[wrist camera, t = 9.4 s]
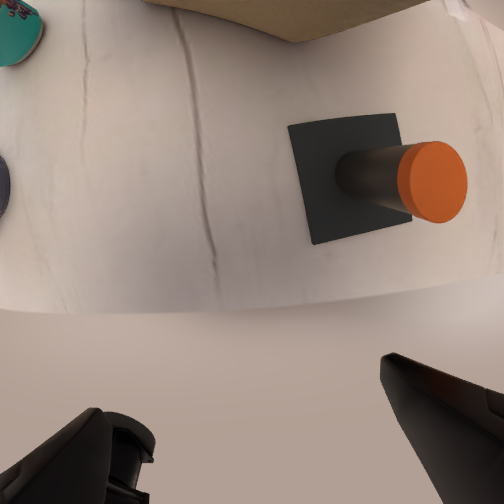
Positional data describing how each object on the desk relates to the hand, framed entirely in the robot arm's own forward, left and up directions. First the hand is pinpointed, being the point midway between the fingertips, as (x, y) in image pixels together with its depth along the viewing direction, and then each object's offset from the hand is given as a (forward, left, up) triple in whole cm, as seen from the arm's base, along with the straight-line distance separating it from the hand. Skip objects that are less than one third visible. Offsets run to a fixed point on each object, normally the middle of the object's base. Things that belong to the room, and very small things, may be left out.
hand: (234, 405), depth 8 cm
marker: (+4, -9, -12) cm, 16 cm away
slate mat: (+4, -9, -13) cm, 16 cm away
